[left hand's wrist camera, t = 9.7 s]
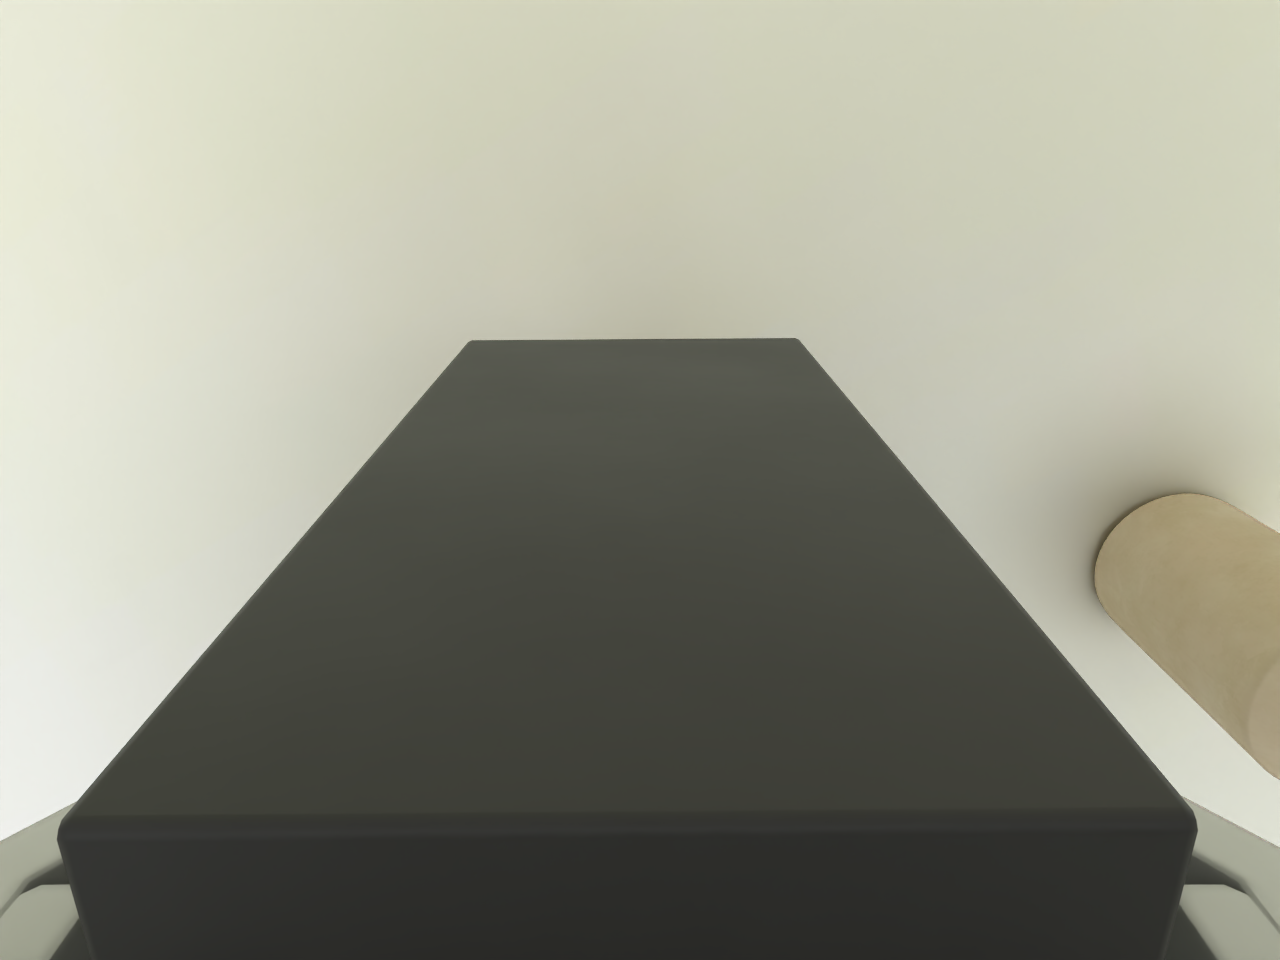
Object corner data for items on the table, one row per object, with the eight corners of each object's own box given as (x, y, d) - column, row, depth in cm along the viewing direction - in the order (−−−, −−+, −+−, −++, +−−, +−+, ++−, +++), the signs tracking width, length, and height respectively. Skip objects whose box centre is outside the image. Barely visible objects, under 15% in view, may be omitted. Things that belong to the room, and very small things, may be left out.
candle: (1236, 627, 33) (1481, 821, 23) (1083, 637, 33) (1267, 835, 23) (1262, 485, 31) (1540, 634, 21) (1100, 496, 31) (1307, 650, 21)
